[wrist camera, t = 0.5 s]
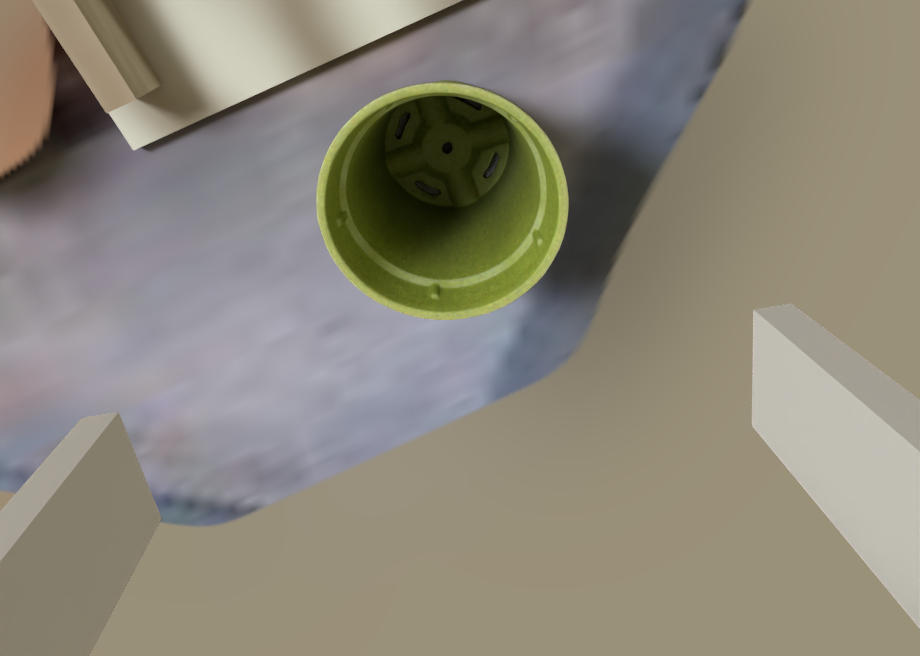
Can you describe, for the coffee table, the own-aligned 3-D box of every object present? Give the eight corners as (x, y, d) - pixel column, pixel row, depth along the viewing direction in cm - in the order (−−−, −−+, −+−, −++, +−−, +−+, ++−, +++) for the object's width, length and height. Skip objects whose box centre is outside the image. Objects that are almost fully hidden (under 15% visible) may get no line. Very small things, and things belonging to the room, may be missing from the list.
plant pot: (495, 263, 37) (504, 352, 29) (323, 195, 35) (285, 272, 27) (579, 94, 32) (615, 148, 25) (387, 6, 30) (364, 36, 23)
